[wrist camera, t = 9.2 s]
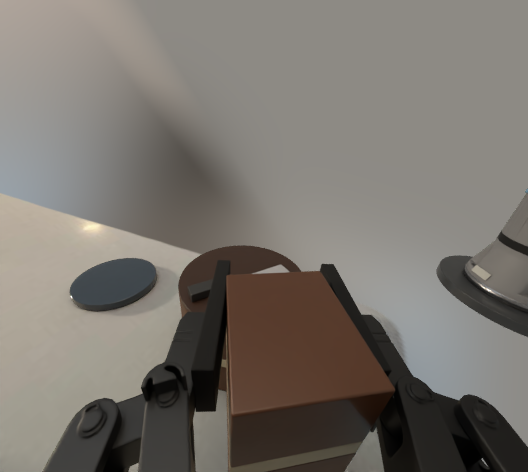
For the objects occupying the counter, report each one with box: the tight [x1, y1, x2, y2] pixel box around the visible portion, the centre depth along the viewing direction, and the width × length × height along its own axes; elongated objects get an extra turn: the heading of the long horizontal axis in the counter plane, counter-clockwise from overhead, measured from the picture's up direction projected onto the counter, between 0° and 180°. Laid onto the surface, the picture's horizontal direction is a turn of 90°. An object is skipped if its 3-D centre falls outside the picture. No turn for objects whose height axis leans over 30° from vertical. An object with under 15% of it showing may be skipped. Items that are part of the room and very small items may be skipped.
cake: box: [178, 246, 301, 391], centre depth 23 cm, size 12×12×9 cm
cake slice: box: [226, 271, 395, 472], centre depth 11 cm, size 6×5×8 cm
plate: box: [70, 258, 157, 311], centre depth 31 cm, size 10×10×1 cm
